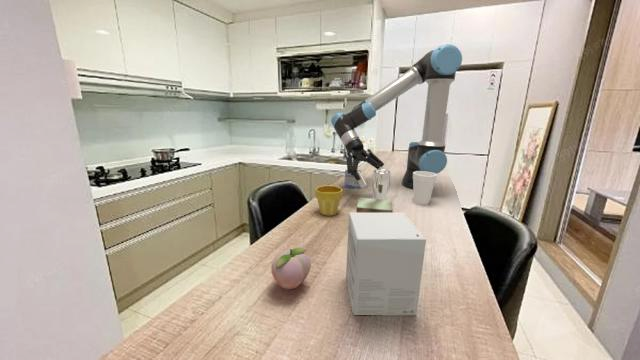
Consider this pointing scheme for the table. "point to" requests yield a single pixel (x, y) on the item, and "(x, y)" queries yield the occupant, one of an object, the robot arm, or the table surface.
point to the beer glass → (381, 184)
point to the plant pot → (328, 199)
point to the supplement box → (384, 264)
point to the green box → (374, 206)
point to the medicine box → (351, 181)
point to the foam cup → (423, 186)
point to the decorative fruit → (291, 268)
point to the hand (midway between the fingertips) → (375, 183)
